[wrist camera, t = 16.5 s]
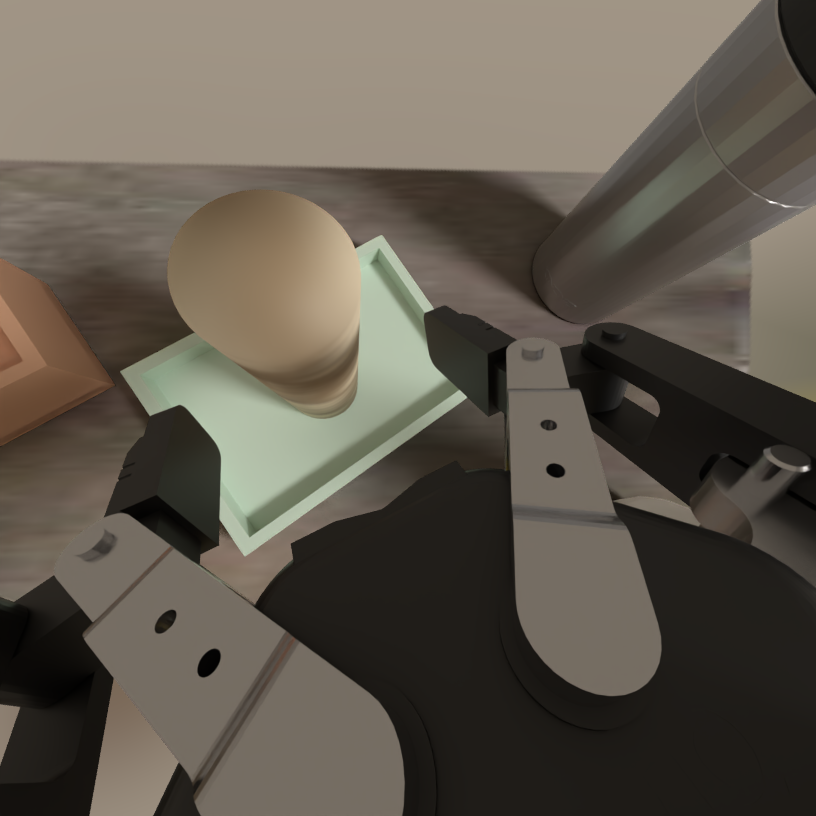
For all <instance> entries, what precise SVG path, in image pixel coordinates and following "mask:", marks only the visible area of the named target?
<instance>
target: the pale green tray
mask: <svg viewBox="0 0 816 816" xmlns="http://www.w3.org/2000/svg"><path fill="white" fill-rule="evenodd" d="M355 250H356V252H357V255H358V259H359V263H360V269H361V300H360V328H359V356H358V385H357V393H356V397H355V399H354V401H353V403H352V404H351V406H350V407H349V408H348V409H347V410H346V411H344V412H343V413H342V414H340V415H338V416H336V417H333V418H328V419H317V418H313V417H310V416H307V415H305V414H303V413H302V412H301V411H299V410H298V409H297V408H295V407H294V406H293V405H291V404H290V403H288V402H287V401H286V400H284V399H283V398H282V397H280V396H279V395H278V394H276V393H275V392H274V391H272V390H271V389H270V388H268V387H267V386H265V385H264V384H263V383H261V382H260V381H259V380H257V379H256V378H255V377H253V376H252V375H251V374H249V373H248V372H247V371H245V370H244V369H242V368H241V367H240V366H238V365H237V364H236V363H234V362H233V361H232V360H230V359H229V358H228V357H226V356H225V355H224V354H222V353H221V352H220V351H218V350H217V349H215V348H214V347H213V346H211V345H210V344H209V343H207V342H206V341H205V340H203V339H202V338H201V337H199V336H198V335H197V334H196V333H193V334H191V335H189V336H187V337H185V338H183V339H181V340H179V341H177V342H175V343H173V344H172V345H170V346H168V347H166V348H164V349H162V350H160V351H158V352H156V353H154V354H152V355H150V356H149V357H147V358H145V359H143V360H141V361H139V362H137V363H135V364H133V365H131V366H129V367H127V368H126V369H124V370H122V371H120V372H121V374H122V375H123V377H124V378H125V380H126V381H127V383H128V384H129V386H130V387H131V389H132V390H133V392H134V393H135V395H136V396H137V398H138V399H139V401H140V402H141V403H142V405H143V406H144V408H145V409H146V411H147V412H148V414H149V415H150V416H151V415H153V414H156V413H159V412H161V411H164V410H167V409H169V408H172V407H175V406H177V405H182V406H184V407H185V408H186V409H187V410H188V411H189V412H190V413H191V414H192V415H193V416H194V418H195V419H196V420H197V421H198V422H199V423H200V425H201V426H202V427H203V428H204V429H205V430H206V432H207V433H208V434H209V435H210V436H211V438H212V439H213V440H214V441H215V443H216V444H217V446H218V448H219V451H220V454H221V481H220V521H221V522H222V524H223V525H224V527H225V528H226V530H227V531H228V533H229V534H230V536H231V537H232V539H233V540H234V542H235V543H236V545H237V546H238V548H239V549H240V550H241V552H242V553H243V555H244V556H246V555H248V554H249V553H251V552H252V551H253V550H255V549H256V548H258V547H259V546H260V545H262V544H263V543H265V542H266V541H267V540H269V539H270V538H272V537H273V536H274V535H276V534H277V533H279V532H280V531H281V530H283V529H284V528H286V527H287V526H288V525H290V524H291V523H293V522H294V521H295V520H297V519H298V518H300V517H301V516H302V515H304V514H305V513H307V512H308V511H309V510H311V509H312V508H314V507H315V506H316V505H318V504H319V503H321V502H322V501H323V500H325V499H326V498H328V497H329V496H330V495H332V494H333V493H335V492H336V491H337V490H339V489H340V488H342V487H343V486H344V485H346V484H347V483H349V482H350V481H351V480H353V479H354V478H356V477H357V476H358V475H360V474H361V473H363V472H364V471H365V470H367V469H368V468H370V467H371V466H372V465H374V464H375V463H376V462H378V461H379V460H381V459H382V458H383V457H385V456H386V455H388V454H389V453H390V452H392V451H393V450H395V449H396V448H397V447H399V446H400V445H402V444H403V443H404V442H406V441H407V440H409V439H410V438H411V437H413V436H414V435H416V434H417V433H418V432H420V431H421V430H423V429H424V428H425V427H427V426H428V425H430V424H431V423H432V422H434V421H435V420H437V419H438V418H439V417H441V416H442V415H444V414H445V413H446V412H448V411H449V410H451V409H452V408H453V407H455V406H456V405H458V404H459V403H460V402H462V401H463V400H465V399H466V398H467V396H465V395H464V394H463V393H462V392H461V391H460V390H459V389H458V388H457V387H456V386H455V385H454V384H453V383H452V382H450V381H449V380H448V379H447V378H446V377H445V376H444V375H443V374H442V373H441V372H440V371H439V370H438V369H437V368H436V367H435V366H434V365H433V363H432V361H431V359H430V356H429V351H428V345H427V338H426V332H425V325H424V314H425V312H428V311H431V310H433V309H434V308H433V307H432V306H431V304H430V303H429V301H428V300H427V298H426V297H425V296H424V294H423V293H422V291H421V290H420V288H419V287H418V286H417V284H416V283H415V281H414V280H413V278H412V277H411V276H410V274H409V273H408V271H407V270H406V269H405V267H404V266H403V264H402V263H401V261H400V260H399V259H398V257H397V256H396V254H395V253H394V251H393V250H392V249H391V247H390V246H389V244H388V243H387V241H386V240H385V239H384V237H383V236H382V235H380V236H378V237H377V238H375V239H373V240H371V241H369V242H367V243H365V244H363V245H361V246H359V247H357V248H355Z"/></svg>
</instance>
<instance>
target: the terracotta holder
mask: <svg viewBox="0 0 816 816" xmlns="http://www.w3.org/2000/svg"><path fill="white" fill-rule="evenodd" d="M113 386H115V384H114V382H113V381H112V379H111V378H110V376H109V375H108V373H107V372H106V370H105V369H104V367H103V366H102V364H101V363H100V361H99V360H98V358H97V357H96V355H95V354H94V353H93V351H92V350H91V348H90V347H89V345H88V344H87V342H86V341H85V339H84V338H83V336H82V335H81V333H80V332H79V330H78V329H77V327H76V326H75V324H74V323H73V321H72V320H71V318H70V317H69V315H68V314H67V312H66V311H65V309H64V308H63V306H62V305H61V303H60V302H59V300H58V299H57V297H56V296H55V295H54V293H53V292H52V290H51V289H50V287H49V286H48V284H46V283H44V282H42V281H41V280H39V279H37V278H35V277H34V276H32V275H30V274H28V273H26V272H25V271H23V270H21V269H19V268H17V267H16V266H14V265H12V264H10V263H8V262H7V261H5V260H3V259H1V258H0V446H2V445H4V444H6V443H8V442H10V441H11V440H13V439H15V438H17V437H19V436H21V435H23V434H25V433H27V432H28V431H30V430H32V429H34V428H36V427H38V426H40V425H42V424H44V423H45V422H47V421H49V420H51V419H53V418H55V417H57V416H59V415H61V414H62V413H64V412H66V411H68V410H70V409H72V408H74V407H76V406H78V405H79V404H81V403H83V402H85V401H87V400H89V399H91V398H93V397H94V396H96V395H98V394H100V393H102V392H104V391H106V390H108V389H110V388H111V387H113Z"/></svg>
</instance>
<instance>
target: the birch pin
mask: <svg viewBox="0 0 816 816" xmlns="http://www.w3.org/2000/svg"><path fill="white" fill-rule="evenodd" d="M167 277H168V285H169V290H170V294H171V297H172V299H173V302H174V305H175V307H176V308H177V310H178V312H179V314H180V316H181V317H182V318H183V320H184V321H185V322H186V324H187V325H188V326H189V327H190V328H191V329H192V330H193V331H194V332H195V333H196V334H197V335H198V336H199V337H201V338H202V339H203V340H205V341H206V342H207V343H209V344H210V345H211V346H213V347H214V348H215V349H217V350H218V351H220V352H221V353H222V354H224V355H225V356H226V357H228V358H229V359H230V360H232V361H233V362H234V363H236V364H237V365H238V366H240V367H241V368H242V369H244V370H245V371H247V372H248V373H249V374H251V375H252V376H253V377H255V378H256V379H257V380H259V381H260V382H261V383H263V384H264V385H265V386H267V387H268V388H270V389H271V390H272V391H274V392H275V393H276V394H278V395H279V396H280V397H282V398H283V399H284V400H286V401H287V402H288V403H290V404H291V405H293V406H294V407H295V408H297V409H298V410H299V411H301V412H302V413H303V414H305V415H307V416H310V417H313V418H317V419H328V418H333V417H336V416H338V415H340V414H342V413H343V412H344V411H346V410H347V409H348V408H349V407H350V406H351V404H352V403H353V401H354V399H355V397H356V393H357V385H358V356H359V328H360V300H361V269H360V263H359V259H358V255H357V252H356V250H355V247H354V245H353V243H352V241H351V239H350V238H349V236H348V234H347V233H346V232H345V230H344V229H343V228H342V226H341V225H340V224H339V223H338V222H337V221H336V220H335V219H334V218H333V217H332V216H331V215H330V214H328V213H327V212H326V211H325V210H323V209H322V208H320V207H319V206H317V205H315V204H314V203H312V202H310V201H308V200H306V199H304V198H301V197H298V196H296V195H293V194H289V193H285V192H280V191H273V190H247V191H240V192H236V193H232V194H228V195H226V196H223V197H220V198H218V199H216V200H214V201H212V202H210V203H208V204H206V205H205V206H204V207H202V208H201V209H199V210H198V211H197V212H196V213H194V214H193V215H192V216H191V217H190V218H189V219H188V220H187V221H186V223H185V224H184V225H183V226H182V228H181V229H180V231H179V232H178V234H177V236H176V237H175V240H174V242H173V244H172V247H171V250H170V254H169V258H168V266H167Z"/></svg>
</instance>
